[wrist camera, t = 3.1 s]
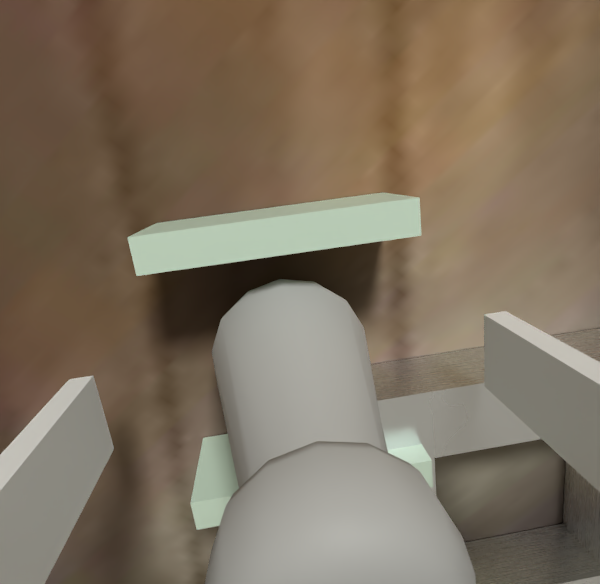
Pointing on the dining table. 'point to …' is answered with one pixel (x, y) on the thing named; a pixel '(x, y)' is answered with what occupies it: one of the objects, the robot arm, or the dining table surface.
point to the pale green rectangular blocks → (261, 244)
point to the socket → (482, 435)
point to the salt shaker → (317, 455)
